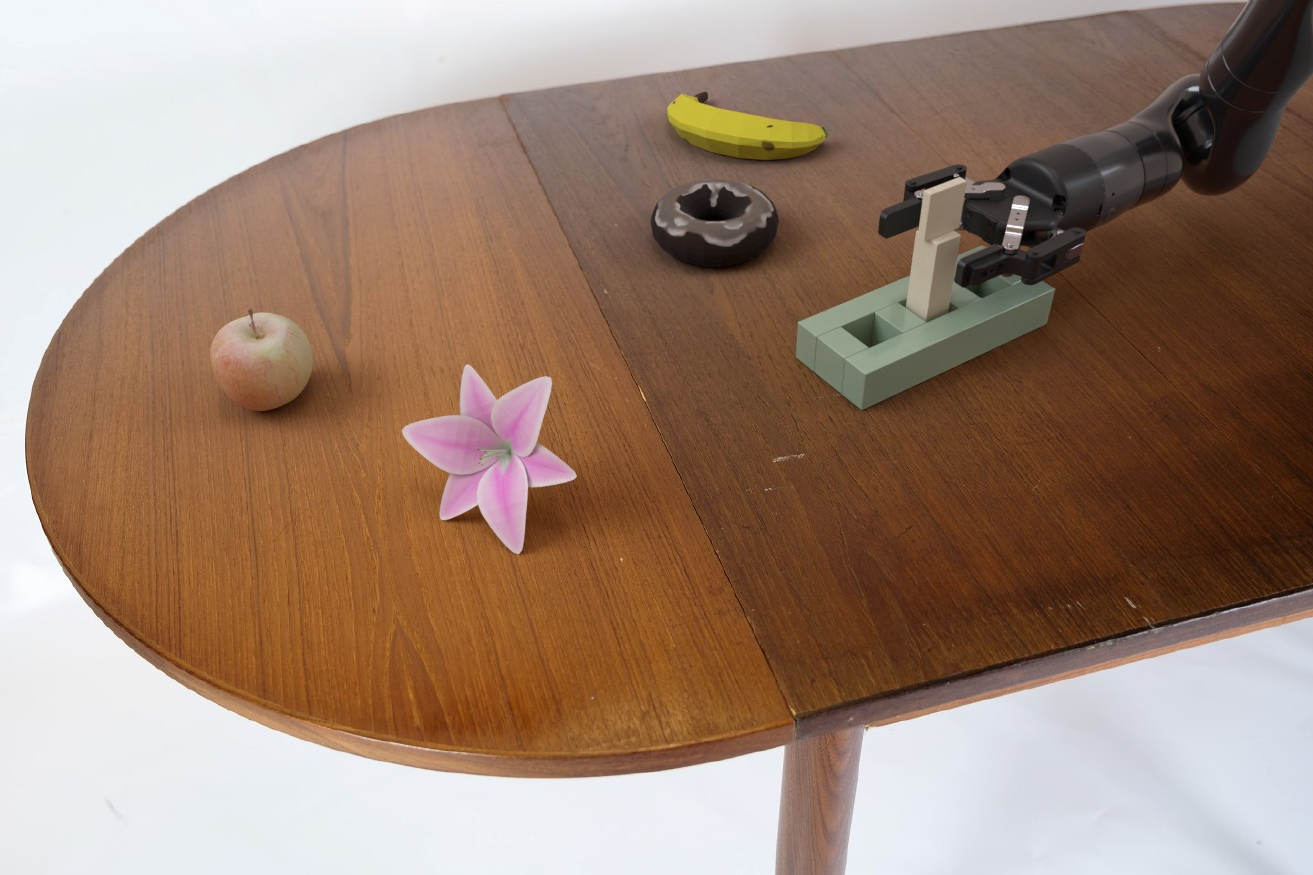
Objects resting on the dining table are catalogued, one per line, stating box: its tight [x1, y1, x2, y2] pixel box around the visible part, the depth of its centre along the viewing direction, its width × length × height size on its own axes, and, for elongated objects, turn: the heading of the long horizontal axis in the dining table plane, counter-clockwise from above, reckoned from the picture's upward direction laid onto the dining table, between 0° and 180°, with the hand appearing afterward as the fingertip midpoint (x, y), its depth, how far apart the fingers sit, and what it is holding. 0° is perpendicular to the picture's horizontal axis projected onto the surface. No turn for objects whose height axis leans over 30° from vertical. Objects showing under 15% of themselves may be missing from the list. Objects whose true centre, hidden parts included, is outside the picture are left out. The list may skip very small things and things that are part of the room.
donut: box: [650, 178, 780, 267], centre depth 104 cm, size 12×12×4 cm
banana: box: [666, 91, 828, 161], centre depth 121 cm, size 5×17×15 cm
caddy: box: [795, 244, 1056, 411], centre depth 91 cm, size 8×20×4 cm, turn 122°
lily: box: [401, 363, 578, 555], centre depth 78 cm, size 12×12×10 cm
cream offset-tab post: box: [906, 177, 967, 323], centre depth 88 cm, size 2×4×14 cm, turn 122°
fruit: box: [209, 308, 314, 412], centre depth 87 cm, size 8×7×8 cm
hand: (919, 249), depth 85 cm, fingers open, 8 cm apart
